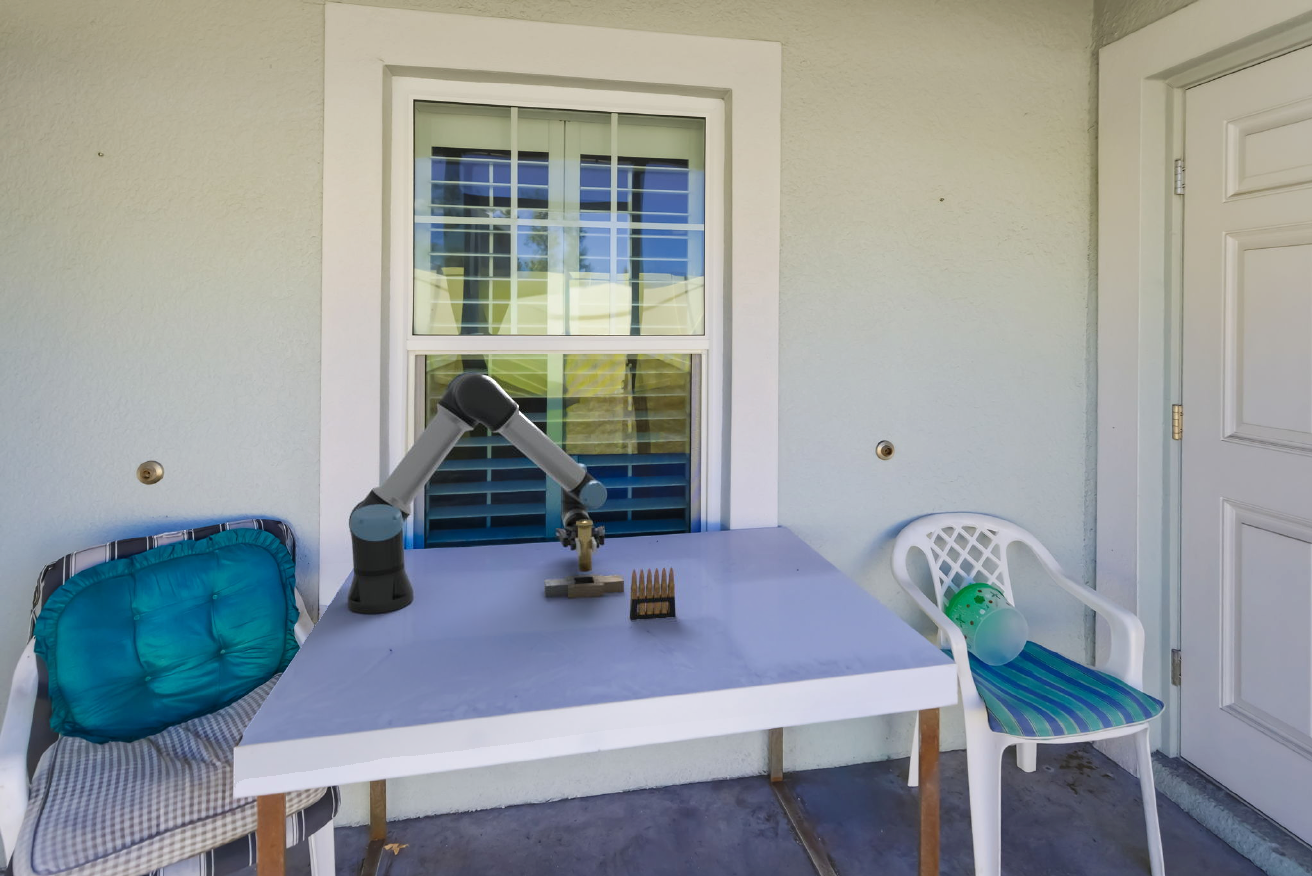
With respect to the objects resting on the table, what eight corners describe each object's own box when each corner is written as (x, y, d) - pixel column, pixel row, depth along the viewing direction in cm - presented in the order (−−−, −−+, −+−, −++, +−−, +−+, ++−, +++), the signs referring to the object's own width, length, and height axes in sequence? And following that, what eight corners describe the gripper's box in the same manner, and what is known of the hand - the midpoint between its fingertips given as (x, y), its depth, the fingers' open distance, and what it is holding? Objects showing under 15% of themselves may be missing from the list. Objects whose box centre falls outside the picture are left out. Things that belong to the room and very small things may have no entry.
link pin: (577, 573, 178) (577, 524, 176) (576, 567, 182) (575, 519, 180) (594, 571, 178) (593, 523, 177) (592, 566, 182) (591, 519, 181)
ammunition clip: (674, 614, 166) (674, 565, 164) (675, 617, 164) (676, 568, 162) (629, 617, 164) (629, 568, 162) (630, 620, 162) (630, 570, 161)
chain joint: (546, 600, 174) (545, 588, 174) (544, 588, 183) (544, 577, 182) (625, 594, 178) (625, 583, 178) (619, 583, 187) (619, 572, 187)
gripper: (607, 536, 199) (619, 562, 176) (548, 540, 195) (554, 566, 173) (606, 510, 198) (619, 533, 175) (548, 513, 194) (553, 537, 171)
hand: (587, 549), depth 174 cm, fingers closed on link pin, 3 cm apart
